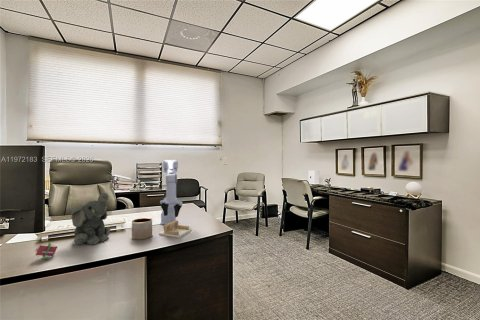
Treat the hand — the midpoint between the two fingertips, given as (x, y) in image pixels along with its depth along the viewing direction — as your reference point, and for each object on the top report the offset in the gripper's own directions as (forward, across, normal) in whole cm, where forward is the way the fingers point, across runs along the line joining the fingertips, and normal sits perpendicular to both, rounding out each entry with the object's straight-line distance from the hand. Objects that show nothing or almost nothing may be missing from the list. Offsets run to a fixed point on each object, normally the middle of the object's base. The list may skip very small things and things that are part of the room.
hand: (171, 216), depth 140 cm
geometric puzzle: (+10, -31, -49) cm, 59 cm away
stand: (+10, +3, 0) cm, 10 cm away
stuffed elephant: (+10, -33, -26) cm, 43 cm away
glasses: (+8, +4, 0) cm, 9 cm away
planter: (+10, -11, -12) cm, 19 cm away
